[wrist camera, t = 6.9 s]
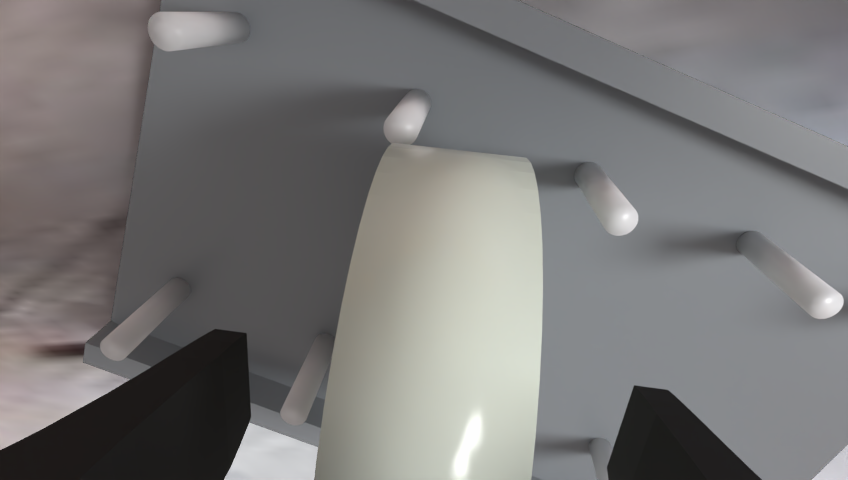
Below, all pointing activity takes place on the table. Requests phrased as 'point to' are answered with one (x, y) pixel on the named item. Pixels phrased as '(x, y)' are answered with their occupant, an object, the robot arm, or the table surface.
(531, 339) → the plate
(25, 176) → the table surface
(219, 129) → the dish rack
